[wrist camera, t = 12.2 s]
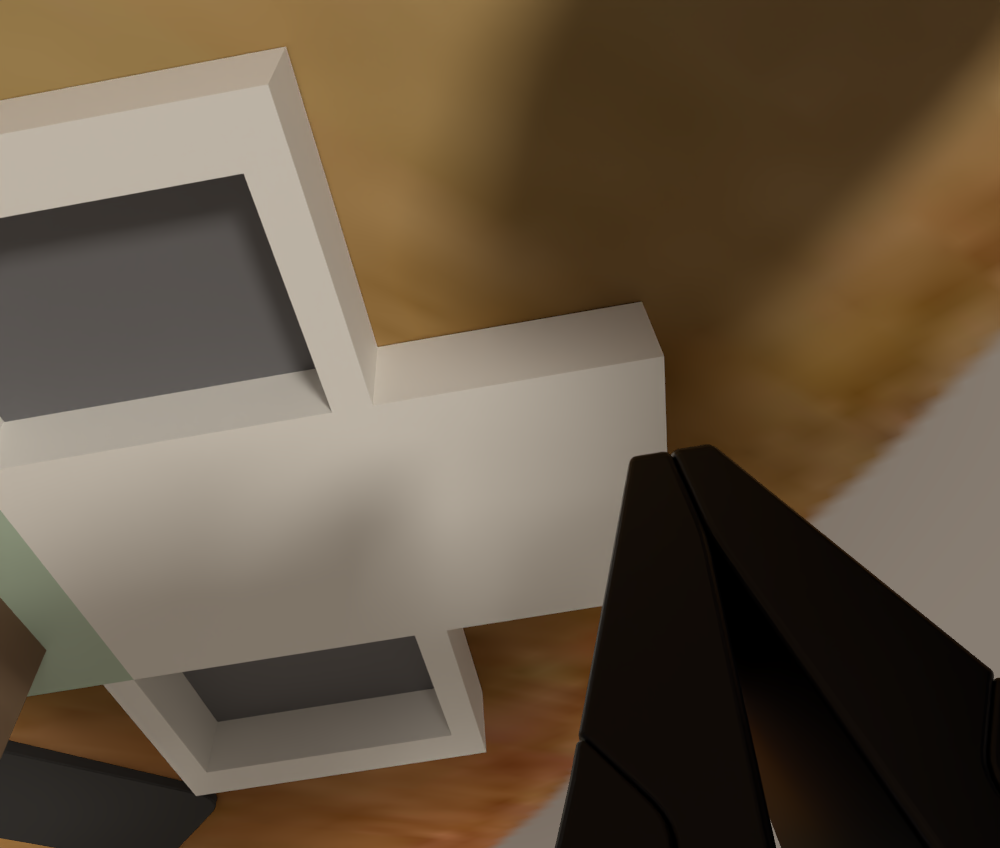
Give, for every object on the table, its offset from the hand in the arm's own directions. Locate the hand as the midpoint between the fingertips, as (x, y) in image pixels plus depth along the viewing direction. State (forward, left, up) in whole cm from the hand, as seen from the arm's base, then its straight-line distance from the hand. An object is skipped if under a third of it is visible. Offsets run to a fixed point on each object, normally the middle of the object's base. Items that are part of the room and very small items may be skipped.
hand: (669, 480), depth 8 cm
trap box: (+10, +10, -12) cm, 19 cm away
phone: (+25, +24, -13) cm, 37 cm away
